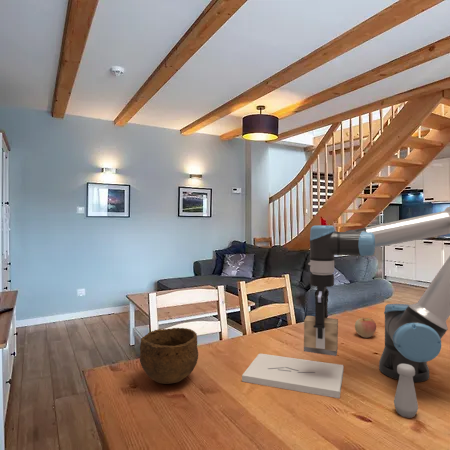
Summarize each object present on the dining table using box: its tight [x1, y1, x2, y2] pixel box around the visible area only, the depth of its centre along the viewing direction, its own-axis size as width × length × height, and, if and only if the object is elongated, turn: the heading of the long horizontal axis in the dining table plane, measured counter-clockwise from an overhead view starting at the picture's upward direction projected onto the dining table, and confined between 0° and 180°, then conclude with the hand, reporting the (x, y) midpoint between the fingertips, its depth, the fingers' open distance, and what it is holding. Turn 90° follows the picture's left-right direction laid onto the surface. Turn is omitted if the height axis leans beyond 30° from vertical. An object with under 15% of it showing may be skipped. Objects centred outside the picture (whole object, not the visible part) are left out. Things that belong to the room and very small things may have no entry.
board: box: [241, 353, 345, 399], centre depth 117 cm, size 30×20×2 cm, turn 68°
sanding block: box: [303, 315, 339, 357], centre depth 113 cm, size 10×6×10 cm, turn 69°
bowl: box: [139, 327, 199, 385], centre depth 114 cm, size 19×19×15 cm
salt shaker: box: [393, 364, 419, 419], centre depth 94 cm, size 6×6×13 cm
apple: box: [354, 317, 377, 339], centre depth 156 cm, size 9×9×8 cm
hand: (321, 344), depth 113 cm, fingers closed on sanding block, 6 cm apart
